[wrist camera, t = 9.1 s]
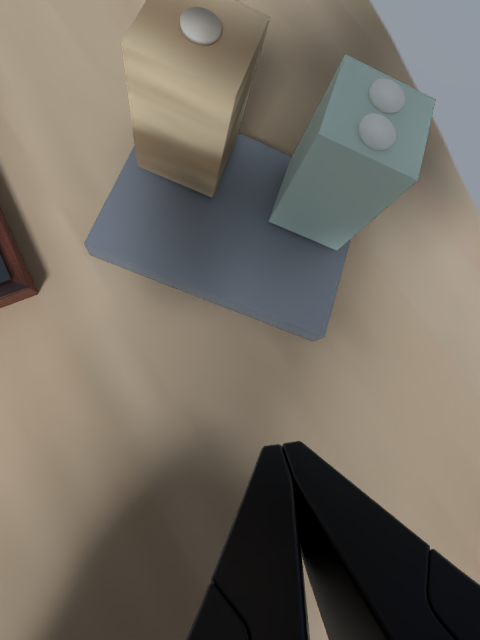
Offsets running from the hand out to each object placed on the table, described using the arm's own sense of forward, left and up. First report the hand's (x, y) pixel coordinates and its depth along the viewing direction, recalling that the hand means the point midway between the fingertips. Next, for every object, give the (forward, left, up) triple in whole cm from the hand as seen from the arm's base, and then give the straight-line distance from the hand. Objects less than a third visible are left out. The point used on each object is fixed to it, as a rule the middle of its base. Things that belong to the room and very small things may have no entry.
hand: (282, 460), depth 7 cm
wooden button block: (+13, +9, -10) cm, 18 cm away
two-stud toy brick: (+14, +1, -10) cm, 17 cm away
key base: (+11, +5, -12) cm, 17 cm away
